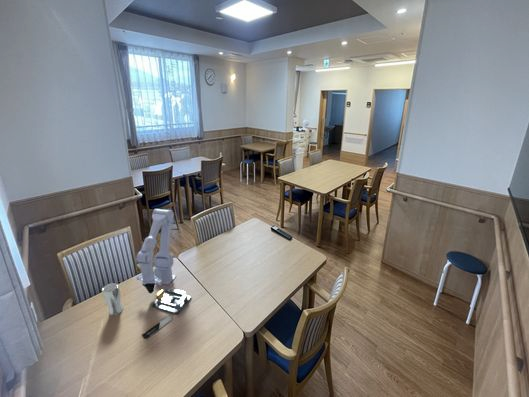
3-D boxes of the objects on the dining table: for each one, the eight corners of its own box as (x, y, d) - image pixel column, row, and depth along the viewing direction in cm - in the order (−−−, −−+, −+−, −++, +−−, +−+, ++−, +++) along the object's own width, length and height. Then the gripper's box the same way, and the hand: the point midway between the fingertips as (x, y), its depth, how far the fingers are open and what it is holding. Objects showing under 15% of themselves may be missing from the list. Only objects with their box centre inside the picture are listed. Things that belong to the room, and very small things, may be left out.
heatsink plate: (151, 307, 130) (150, 301, 129) (166, 291, 141) (165, 285, 139) (178, 314, 126) (177, 308, 124) (191, 298, 137) (190, 292, 135)
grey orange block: (157, 299, 133) (156, 294, 132) (162, 294, 137) (161, 289, 135) (170, 303, 131) (169, 298, 130) (174, 297, 134) (173, 292, 133)
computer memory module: (169, 314, 126) (174, 318, 123) (170, 315, 126) (174, 319, 124) (141, 334, 115) (145, 339, 113) (141, 335, 115) (146, 340, 113)
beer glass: (108, 318, 123) (101, 294, 118) (108, 308, 129) (102, 285, 123) (124, 313, 126) (118, 289, 121) (124, 303, 132) (118, 281, 126)
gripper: (130, 273, 129) (134, 294, 134) (153, 279, 125) (157, 300, 130) (140, 265, 135) (144, 285, 140) (163, 270, 131) (166, 291, 136)
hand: (151, 292), depth 135 cm, fingers closed
